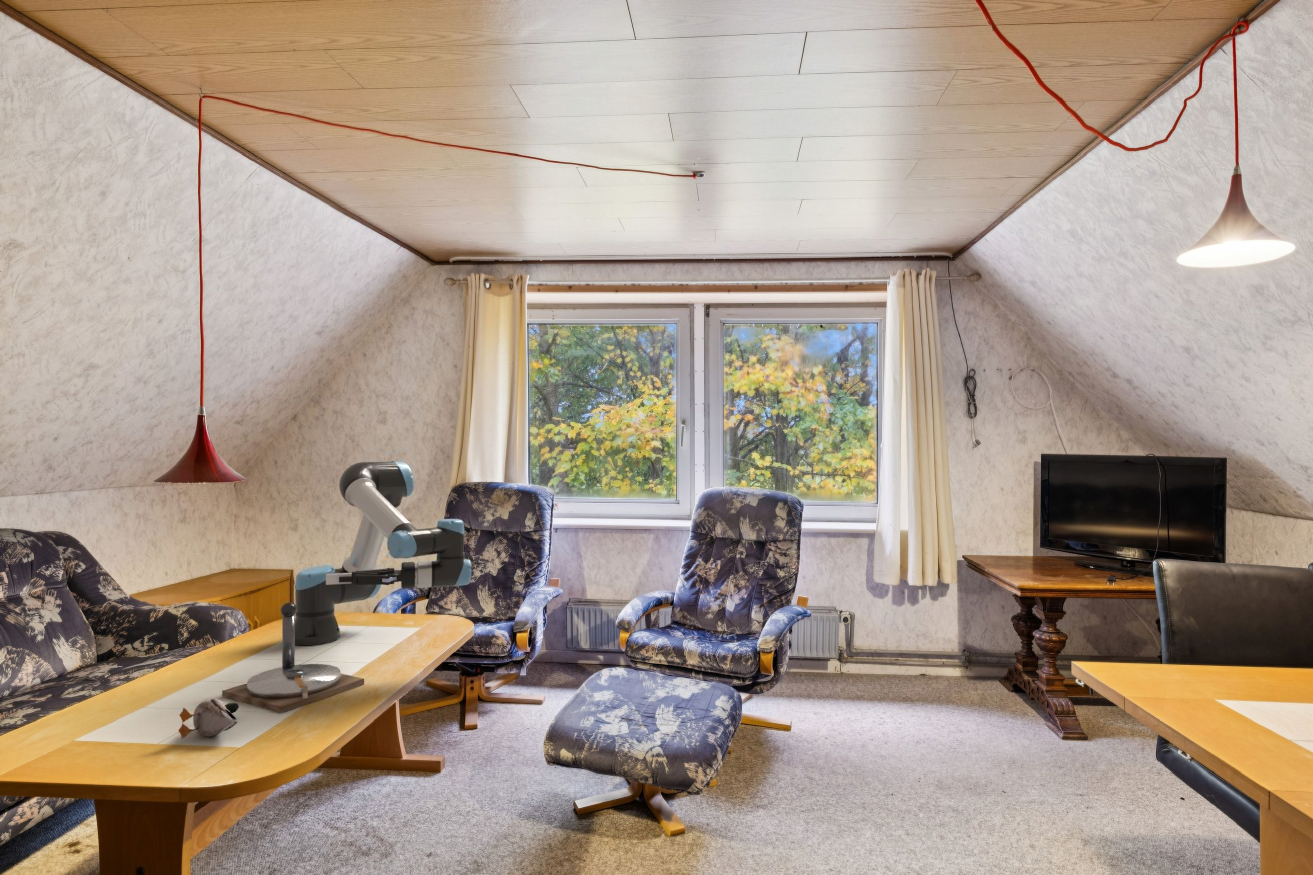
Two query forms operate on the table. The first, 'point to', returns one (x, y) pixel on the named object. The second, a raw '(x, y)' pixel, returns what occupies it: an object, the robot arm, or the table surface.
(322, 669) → the dial
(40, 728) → the table surface
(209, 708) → the decorative duck model
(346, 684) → the walnut stand board
